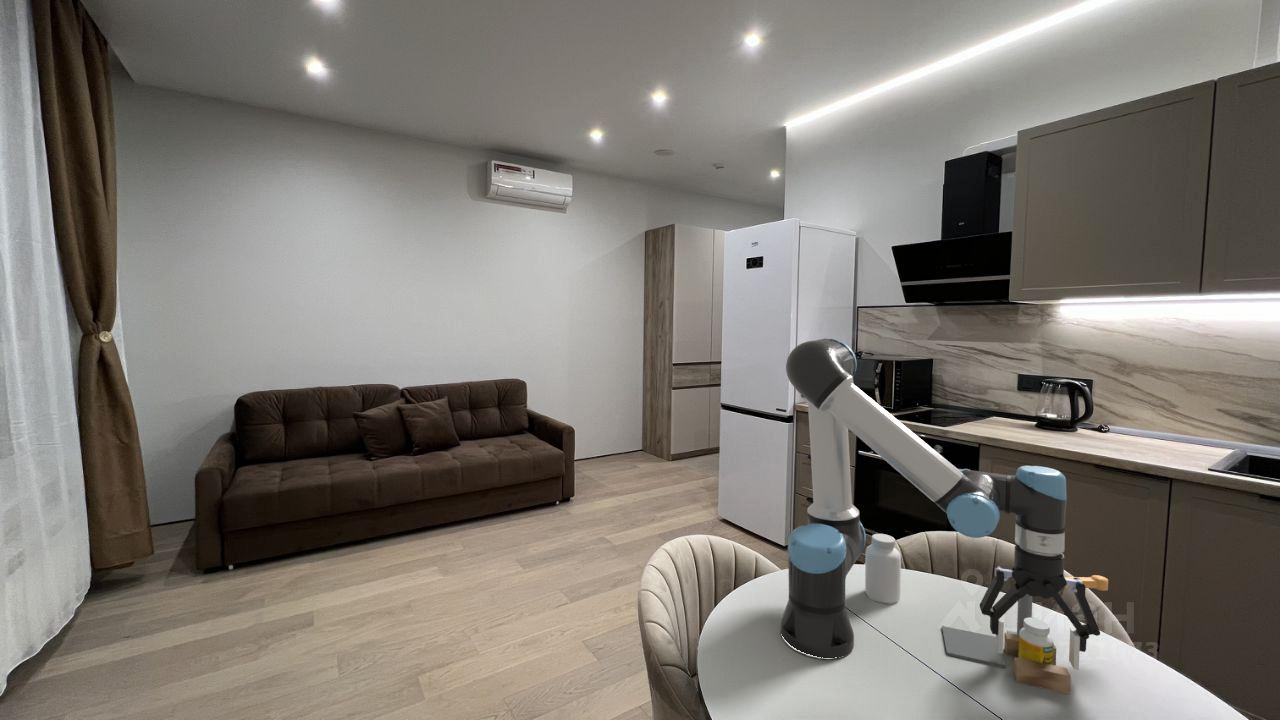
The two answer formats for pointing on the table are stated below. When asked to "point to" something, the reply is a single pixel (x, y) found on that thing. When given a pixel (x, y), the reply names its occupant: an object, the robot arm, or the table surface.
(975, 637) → the mat
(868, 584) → the pill bottle
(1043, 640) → the supplement bottle
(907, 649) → the table surface
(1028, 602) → the grey orange l-shaped piece
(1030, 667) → the wooden block set
